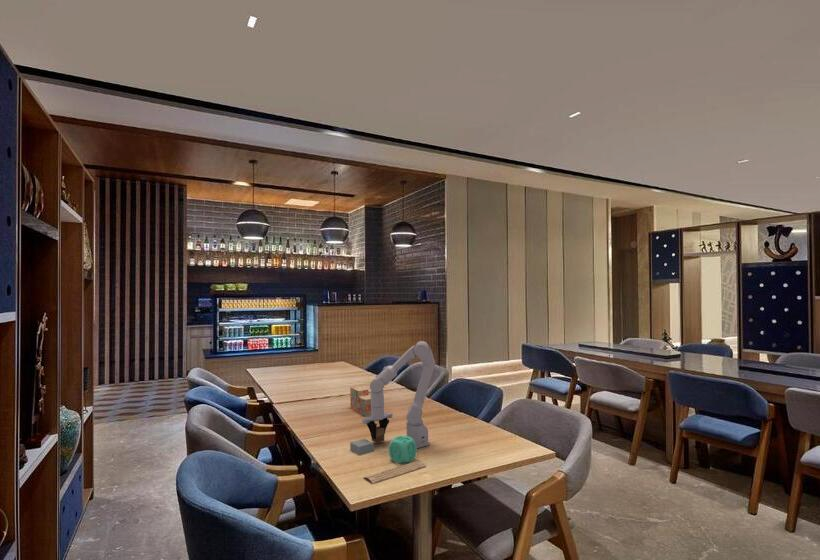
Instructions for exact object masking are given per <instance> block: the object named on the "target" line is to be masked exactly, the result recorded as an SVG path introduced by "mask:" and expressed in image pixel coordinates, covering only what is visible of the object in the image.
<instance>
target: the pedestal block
mask: <svg viewBox="0 0 820 560" xmlns="http://www.w3.org/2000/svg"><path fill="white" fill-rule="evenodd" d="M374 443H375V442H373V441H371V440H368V439H366V438H362V439H358V440H354V441H350V445H349V446H350V447H349V448H350V451H351V452H353V453H354V454H356V455H359V456H360V455H363V454H368V453H371V452H374V451H375V450H374V449H375V446H374Z"/></svg>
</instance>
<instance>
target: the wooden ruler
mask: <svg viewBox="0 0 820 560" xmlns="http://www.w3.org/2000/svg"><path fill="white" fill-rule="evenodd" d="M425 468H427V465H426V463H424V462H422V461H421V460H415V461H413V462H412V461H411V462H409V463H405V464H402V465H400V466H396V467H393V468H389V469H386V470H384V471H380V472H377V473H374V474H370V475H368V476H364V477H363V479H365V480H366V479H368V480H369V481H370V482H371V483H372V485H375V484H379V483H382V482H384V481H385V482H386V481H388V480H391V479H393V478H397V477H400V476H402V475H406V474H408V473H413V472H415V471H419V470H421V469H425Z"/></svg>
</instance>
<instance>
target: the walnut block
mask: <svg viewBox="0 0 820 560" xmlns="http://www.w3.org/2000/svg"><path fill="white" fill-rule="evenodd" d="M371 442H373V443H376V444H378V443H381V442H385V435H384V428H383V427H380V425H377V427H376V438H375V439H372V438H371Z"/></svg>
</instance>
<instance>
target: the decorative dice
mask: <svg viewBox="0 0 820 560" xmlns="http://www.w3.org/2000/svg"><path fill="white" fill-rule="evenodd" d="M417 449H418V448H417V446H416V443H415V441H414V440H413V439H412V438H411V437H409V436H407V435H400V436H399V435H398V436H395V437H393V438H392V439H391V441H390V443H389V445H388V454H389V457H390V458H391V460H392V462H394V463H395V464H396V463H397V464H402V465H404V464H409V463H412V461H414V459H415V458H416V455H417V451H418V450H417Z"/></svg>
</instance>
